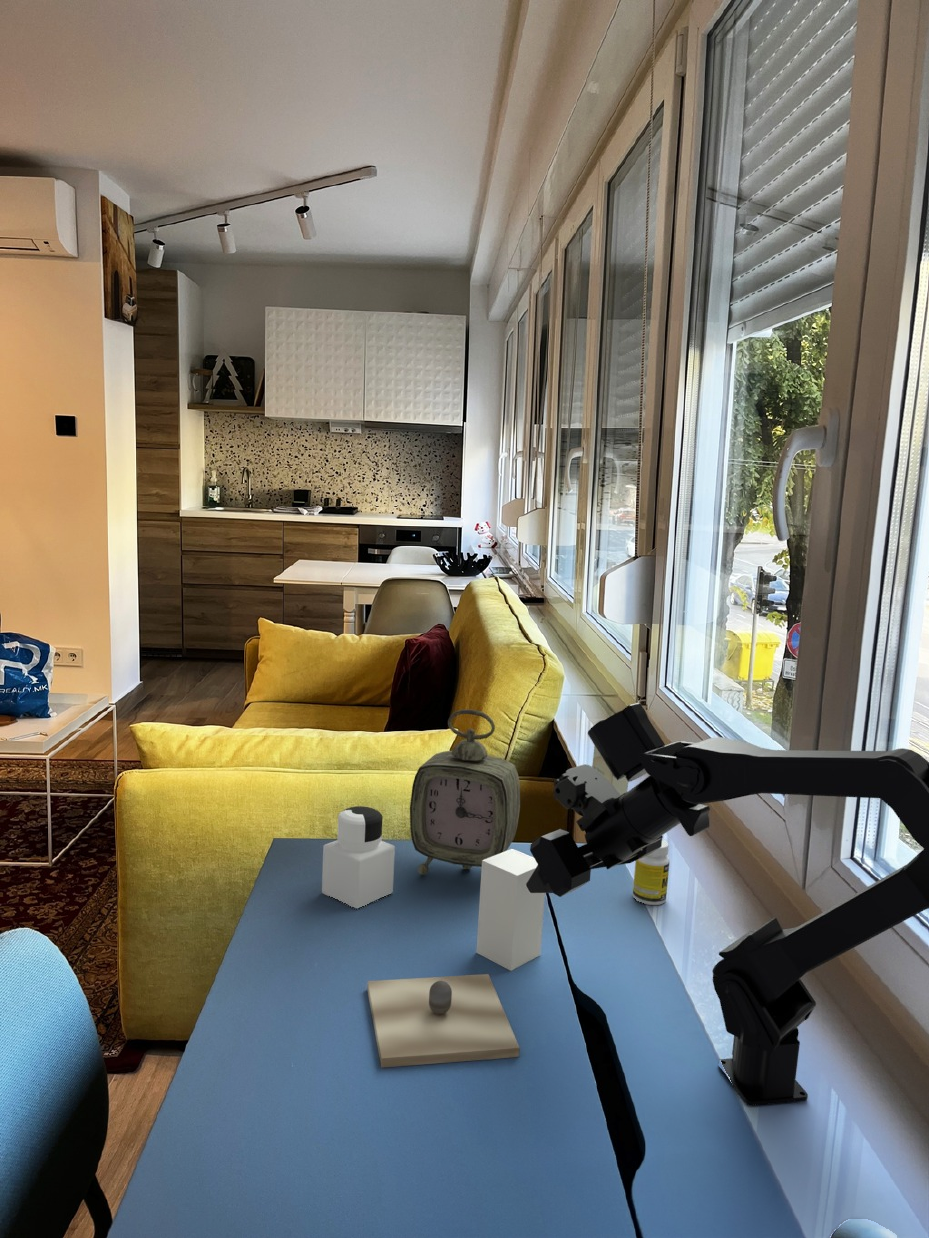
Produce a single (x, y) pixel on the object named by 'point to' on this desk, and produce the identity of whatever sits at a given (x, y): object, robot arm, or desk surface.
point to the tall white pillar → (509, 910)
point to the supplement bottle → (652, 877)
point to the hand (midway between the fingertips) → (553, 877)
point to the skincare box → (609, 773)
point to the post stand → (439, 1020)
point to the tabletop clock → (464, 803)
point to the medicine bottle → (358, 859)
